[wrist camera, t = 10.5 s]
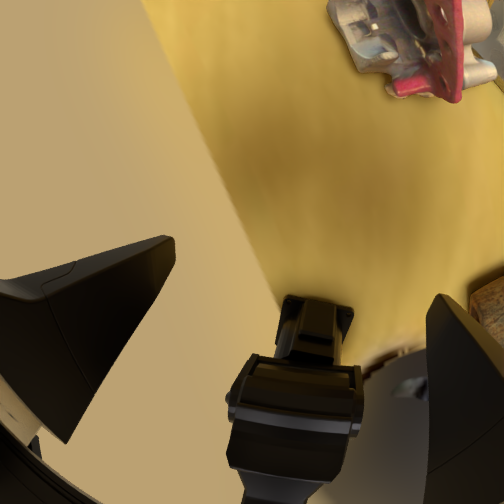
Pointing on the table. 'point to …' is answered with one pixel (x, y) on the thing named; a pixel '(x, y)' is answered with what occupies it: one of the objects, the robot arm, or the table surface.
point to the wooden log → (490, 308)
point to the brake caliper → (417, 43)
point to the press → (494, 42)
